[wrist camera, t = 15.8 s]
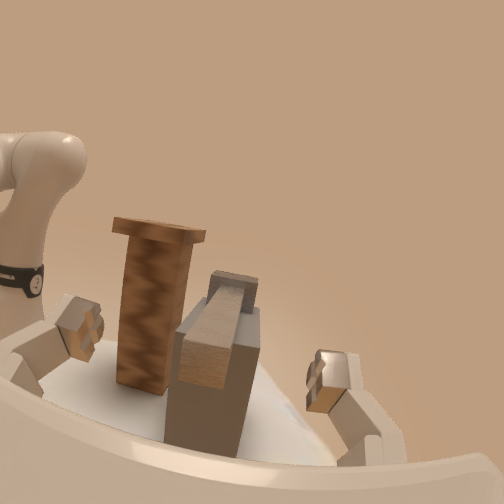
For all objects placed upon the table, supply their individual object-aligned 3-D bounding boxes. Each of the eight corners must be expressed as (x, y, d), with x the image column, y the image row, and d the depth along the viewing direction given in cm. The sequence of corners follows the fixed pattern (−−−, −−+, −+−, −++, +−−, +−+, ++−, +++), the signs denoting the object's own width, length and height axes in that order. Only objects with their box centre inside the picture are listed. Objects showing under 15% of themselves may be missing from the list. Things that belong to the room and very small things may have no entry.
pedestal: (162, 461, 29) (175, 331, 28) (188, 398, 45) (203, 297, 44) (231, 475, 29) (260, 348, 28) (238, 408, 45) (259, 307, 44)
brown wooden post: (100, 390, 40) (114, 216, 39) (135, 354, 56) (152, 220, 55) (161, 409, 40) (185, 229, 39) (184, 367, 56) (206, 230, 55)
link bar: (156, 374, 19) (161, 318, 19) (211, 297, 45) (216, 270, 45) (245, 393, 19) (257, 338, 19) (252, 305, 45) (258, 278, 45)
